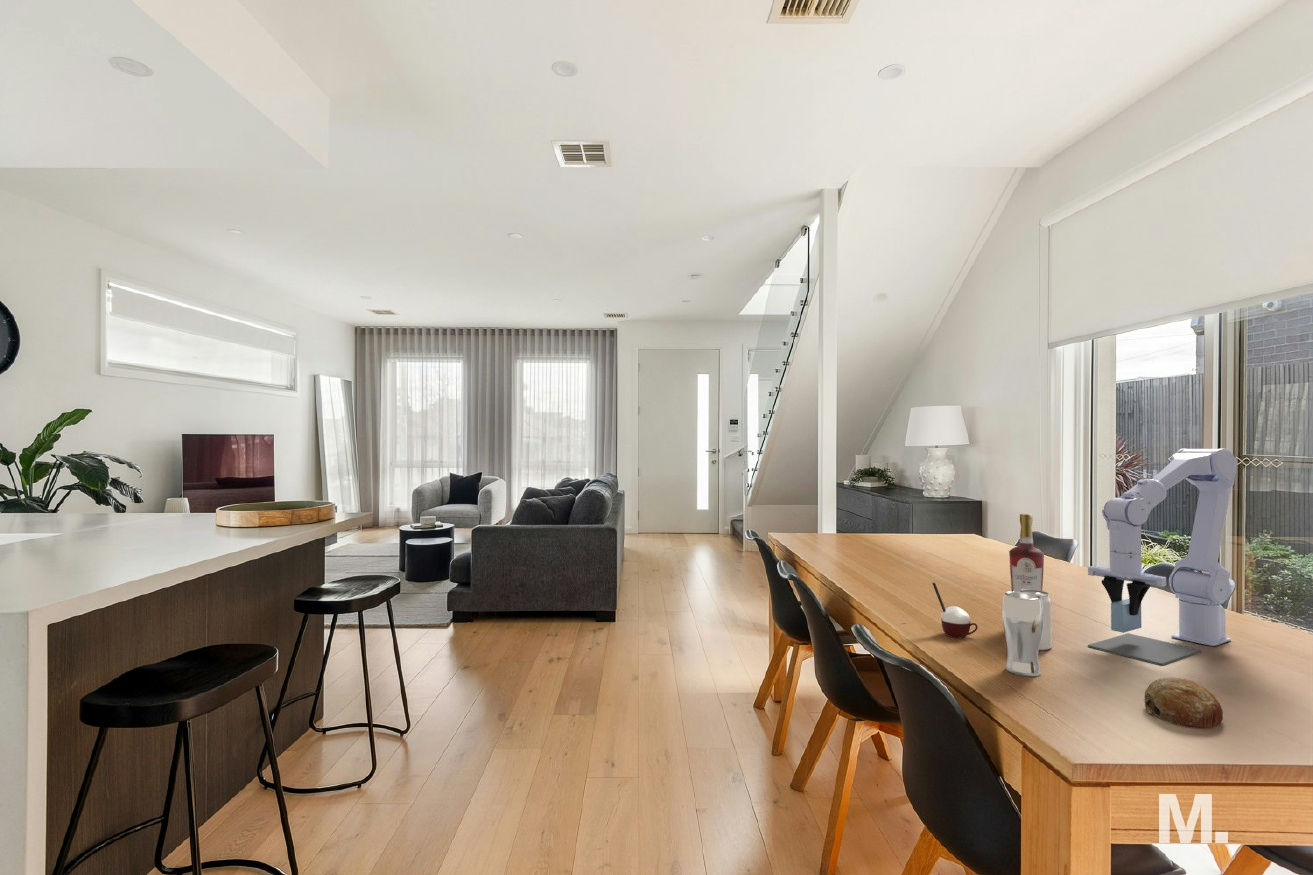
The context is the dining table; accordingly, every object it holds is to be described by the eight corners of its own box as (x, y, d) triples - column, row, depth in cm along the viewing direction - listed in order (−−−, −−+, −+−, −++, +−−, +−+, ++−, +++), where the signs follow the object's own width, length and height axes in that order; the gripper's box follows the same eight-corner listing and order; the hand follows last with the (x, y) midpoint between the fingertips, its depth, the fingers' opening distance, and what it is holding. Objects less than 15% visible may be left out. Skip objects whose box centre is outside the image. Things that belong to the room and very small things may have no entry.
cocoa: (979, 638, 148) (982, 587, 148) (967, 643, 144) (970, 590, 144) (939, 628, 155) (941, 579, 155) (927, 632, 151) (929, 581, 151)
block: (1128, 624, 144) (1128, 598, 144) (1141, 627, 142) (1141, 600, 142) (1110, 629, 140) (1110, 602, 140) (1123, 632, 138) (1123, 605, 138)
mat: (1128, 634, 150) (1128, 633, 150) (1201, 651, 137) (1201, 649, 137) (1087, 646, 141) (1087, 644, 141) (1162, 665, 128) (1162, 663, 129)
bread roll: (1139, 725, 109) (1120, 684, 109) (1188, 698, 110) (1170, 657, 110) (1192, 753, 99) (1172, 707, 99) (1246, 723, 100) (1226, 677, 100)
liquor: (1045, 628, 154) (1044, 513, 155) (1044, 636, 148) (1043, 516, 149) (1010, 624, 158) (1009, 512, 159) (1008, 631, 152) (1007, 514, 153)
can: (1056, 651, 137) (1055, 596, 137) (1023, 649, 138) (1023, 594, 139) (1044, 642, 143) (1044, 589, 144) (1013, 640, 145) (1012, 588, 145)
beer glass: (1038, 667, 127) (1038, 592, 127) (1047, 679, 121) (1047, 600, 121) (999, 663, 130) (999, 590, 130) (1006, 675, 123) (1006, 597, 123)
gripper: (1080, 548, 146) (1081, 607, 146) (1154, 558, 133) (1155, 623, 133) (1096, 546, 149) (1097, 604, 149) (1170, 555, 137) (1171, 618, 136)
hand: (1125, 613), depth 141 cm, fingers closed on block, 2 cm apart
